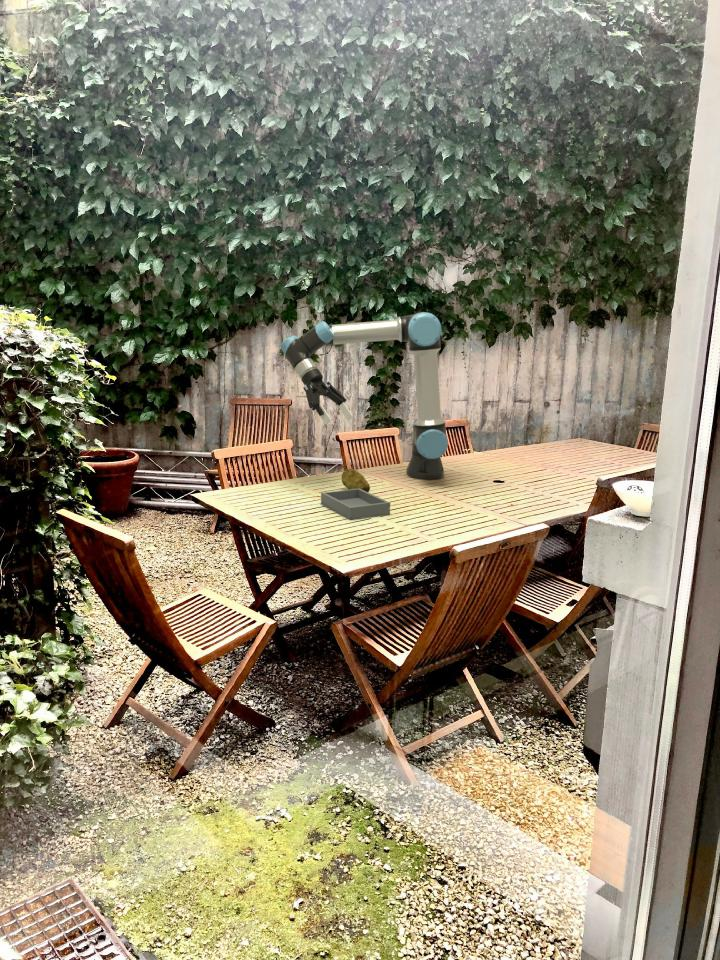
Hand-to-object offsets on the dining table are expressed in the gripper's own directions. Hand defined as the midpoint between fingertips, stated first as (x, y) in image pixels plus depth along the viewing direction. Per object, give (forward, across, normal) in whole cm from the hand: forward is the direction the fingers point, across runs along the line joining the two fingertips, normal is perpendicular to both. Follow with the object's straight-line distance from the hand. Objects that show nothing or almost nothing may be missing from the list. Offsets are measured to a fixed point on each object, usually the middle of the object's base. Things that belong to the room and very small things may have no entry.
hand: (339, 420), depth 255 cm
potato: (+24, 0, -12) cm, 27 cm away
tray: (+33, +18, -3) cm, 37 cm away
